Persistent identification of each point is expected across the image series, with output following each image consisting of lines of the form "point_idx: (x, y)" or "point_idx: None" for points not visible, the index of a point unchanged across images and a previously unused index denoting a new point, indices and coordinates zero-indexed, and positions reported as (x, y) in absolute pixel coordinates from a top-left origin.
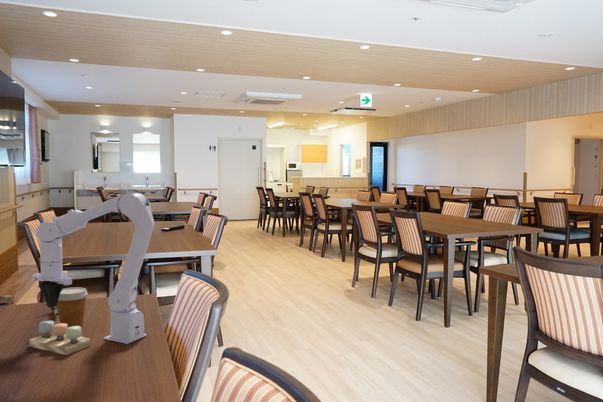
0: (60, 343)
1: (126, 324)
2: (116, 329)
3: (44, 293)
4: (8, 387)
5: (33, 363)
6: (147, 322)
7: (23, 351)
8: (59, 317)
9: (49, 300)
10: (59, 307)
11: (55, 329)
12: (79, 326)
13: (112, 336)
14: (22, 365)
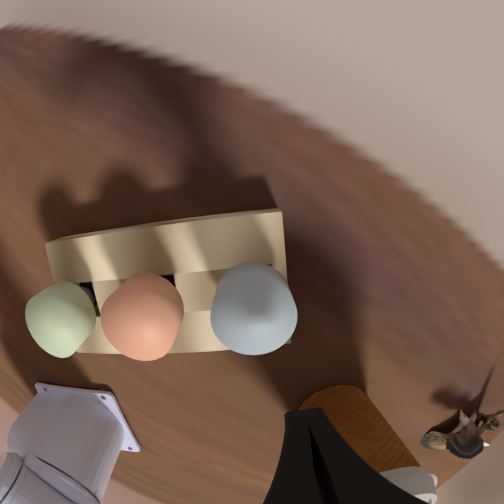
0: (102, 261)
1: (21, 424)
2: (54, 414)
3: (361, 485)
4: (20, 31)
5: (82, 123)
6: (168, 494)
7: (238, 158)
8: (369, 412)
9: (289, 450)
10: (374, 444)
11: (121, 287)
12: (56, 354)
13: (79, 400)
14: (98, 90)
